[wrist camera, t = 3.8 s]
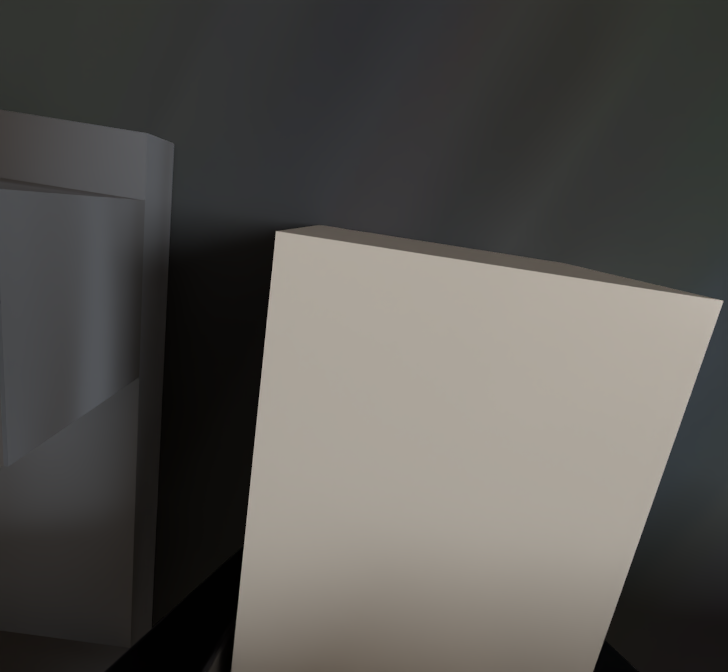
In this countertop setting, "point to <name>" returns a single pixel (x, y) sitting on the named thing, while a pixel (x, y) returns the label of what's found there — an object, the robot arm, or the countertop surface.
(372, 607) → the clay block
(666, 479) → the countertop surface
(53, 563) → the dark grey angular piece
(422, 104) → the countertop surface
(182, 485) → the countertop surface
